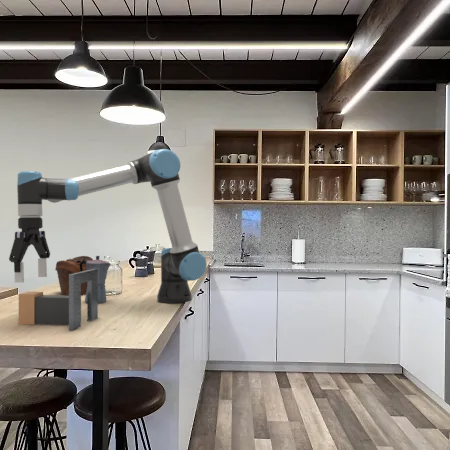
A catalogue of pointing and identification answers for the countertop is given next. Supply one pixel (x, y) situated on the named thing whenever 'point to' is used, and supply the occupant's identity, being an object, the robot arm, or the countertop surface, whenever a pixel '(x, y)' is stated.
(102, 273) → the moka pot
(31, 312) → the plug
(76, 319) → the grey arch
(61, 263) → the case
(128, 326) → the countertop surface
